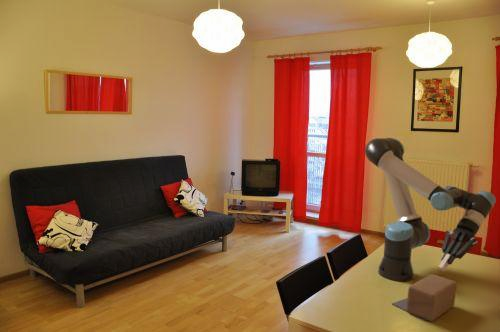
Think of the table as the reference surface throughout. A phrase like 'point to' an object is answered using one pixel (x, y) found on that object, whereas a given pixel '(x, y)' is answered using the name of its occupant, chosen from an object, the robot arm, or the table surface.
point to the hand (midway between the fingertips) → (441, 268)
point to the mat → (403, 305)
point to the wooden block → (431, 297)
